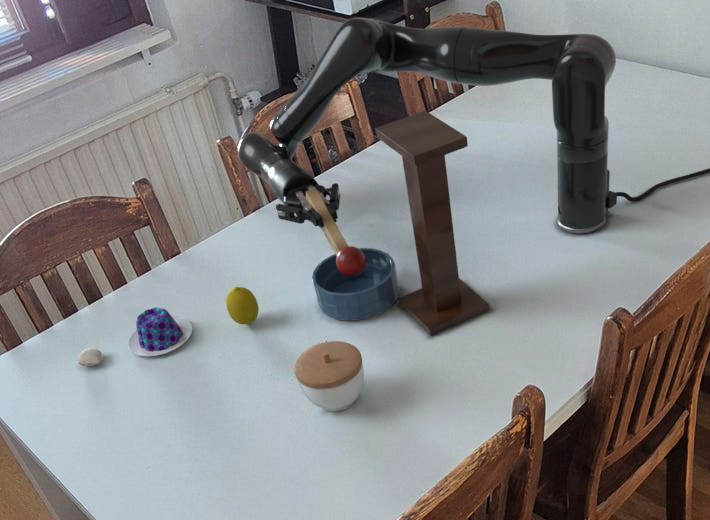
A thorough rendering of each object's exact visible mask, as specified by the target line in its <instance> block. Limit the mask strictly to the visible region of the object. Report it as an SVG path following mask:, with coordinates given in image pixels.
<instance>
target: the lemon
mask: <svg viewBox="0 0 710 520" xmlns="http://www.w3.org/2000/svg"><path fill="white" fill-rule="evenodd" d="M225 305H226V310H227V312H228V315H229V316H230V318H231V320H233V321H234V322H235V323H236V324H239V325H243V326H244V325H246V326H249V325H251V324H253V322H255V321H256V319H257V318H258V315H259V303H258V301H257V298H256V297H255V295H254V293H253V292H252V291H251V290H250V289H248V288H247V287H243V286H235V287H234V288H233V287H232V289H231V290H229V292H228V293H227V294H226V299H225Z"/></svg>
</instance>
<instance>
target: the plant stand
mask: <svg viewBox="0 0 710 520" xmlns="http://www.w3.org/2000/svg"><path fill="white" fill-rule="evenodd" d="M375 136H376V138H377V139H378V140H380V141H381V142H382V143H383V144H385V145H386V146H387V147H389V148H391V150H393V151H394V152H396V153H397V154H398V155H400V156H401V159H402V166H403V172H404V178H405V185H406V191H407V198H408V206H409V211H410V218H411V224H412V231H413V238H414V243H415V250H416V256H417V263H418V269H419V276H420V282H421V288H419V289H417V290H414V291H412V292H409V293H407V294H405V295H403V296H400V297H398V298H397V300H398V306H400V307H401V308H402V309H403V310H404V311H405V313H407V315H409V316H410V317H411V318H412V319H413V320H414V322H416V324H418V325H419V326H420V328H421V329H422V330H424V331H425V333H426V334H428V336H430V337H433V336H435V335H438V334H440V333H442V332H445V331H446V330H450V329H451V328H453V327H456V326H458V325H460V324H463V323H465V322H467V321H469V320H472V319H474V318H477V317H478V316H481V315H483V314H486V313H487V312H490V303H489V302H487V301H486V300H485V299H484V298H482V296H481V295H479V294H478V293H477V292H476V291H474V289H472V287H470V286H469V285H468V284H467V283H465V282H464V281H463V280H462V279H461V278H460V277H459V276H460V275H459V268H458V267H459V266H458V258H457V250H456V241H455V233H454V224H453V216H452V205H451V198H450V197H451V196H450V189H449V180H448V171H447V163H446V162H447V161H446V155H449V154H452V153H455V152H457V151H459V150H462V149H464V148H468V145H469V144H468V136H466V135H465V134H464V133H462V132H460V131H459V130H457V129H455V128H454V127H452V126H451V125H449V124H448V123H446V122H445V121H443V120H442V119H439V118H438V117H437V116H435V115H434V114H432V113H430V112H428V111H427V110H422V111H420V112H417V113H414V114H412V115H411V114H410V115H409V116H405V117H403V118H400V119H397V120H395V121H392V122H390V123H386V124H384V125H380V126H377V127H375Z"/></svg>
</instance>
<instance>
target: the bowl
mask: <svg viewBox="0 0 710 520" xmlns="http://www.w3.org/2000/svg"><path fill="white" fill-rule="evenodd" d="M357 248H358V249H360V250H361V251H362V252H363V254H364V256H365V259H366V265H365V268H364V270H363V272H362V273H361V274H360V275H358V276H355V277H347V276H344V275H343V274H341V273H340V272H339V270H338V269H337V266H336V254H335V253H334V254H332V255H330V256H328V257H326V258H325V259H323V260H322V261H321V262H320V263H318V264H317V266H316V267H315V268H314V270H313V271H312V277H311V280H312V284H313V287H314V292H315V295H316V298H317V302H318V306H319V309H320V310H321V312H323V314H324V315H326V316H328V317H330V318H332V319H336V320H341V321H358V320H359V321H360V320H364V319H368V318H372V317H375V316H377V315H379V314H382V313H384V312H385V311H386V310H388V309H389V308H391V307H392V306H393V305H394V304H395V302H396V301H397V300H398V298H399V296H400V285H399V279H398V273H397V266H396V263H395V260H394V258H393V257H392V255H390V254H389V253H388V252H385V251H384V250H381V249H377V248H372V247H371V248H370V247H357Z"/></svg>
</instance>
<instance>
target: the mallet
mask: <svg viewBox="0 0 710 520" xmlns="http://www.w3.org/2000/svg"><path fill="white" fill-rule="evenodd" d="M306 199H307V200H308V203H309V204H310V206H311V207H312V209H315V210H316V211H317V212H318V213H319V214H320V215H321V216H322V219H323V224H324V227H322V228H320V229H321V231H322V232H323V234H324V236H325V238H326V240H327V241H328V243H329V245H330V247H331V249H332V250H333V252H334V254H336V266H337V269H338V270H339V272H340V273H341V274H343V275H344V276H347V277H355V276H358V275H360V274H361V273H362V272H363V270H364V268H365V265H366V259H365V256H364V254H363V252H362V251H361V250H360V249H358V248H359V247H357V246H353V245H349V244H348V243H347V241H346V239H345V237H344V235H343V234H342V232H341V230H340V229H339V227H338V225H337V224H336V223H337V222H335V221H334V220H333V218H332V217H331V215H330V213H329V211H328V210H327V207H326V206H325V204H324V202H323V200H322V199H321V197H320V195H319V193H318V192H317V190H316V188H314V189H311V190H309V191H306Z"/></svg>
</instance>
